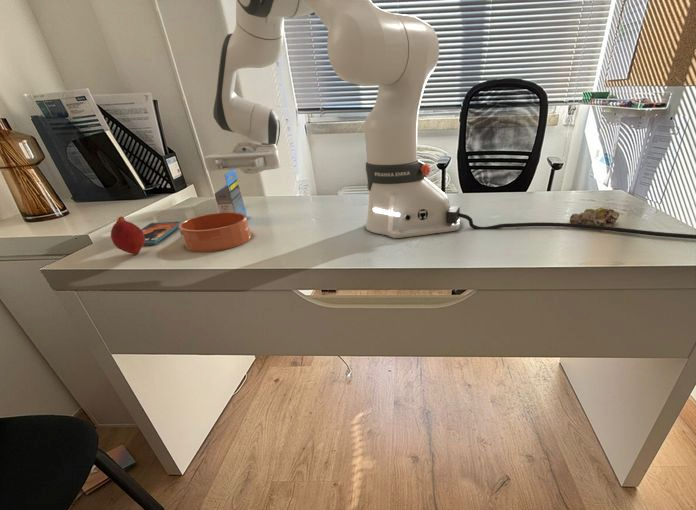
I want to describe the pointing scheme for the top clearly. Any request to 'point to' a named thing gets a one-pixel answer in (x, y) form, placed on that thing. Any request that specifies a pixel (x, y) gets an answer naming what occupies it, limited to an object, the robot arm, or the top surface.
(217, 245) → the terracotta bowl
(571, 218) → the mineral rock
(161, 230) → the smartphone
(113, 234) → the onion
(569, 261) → the top surface
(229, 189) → the grey product box
